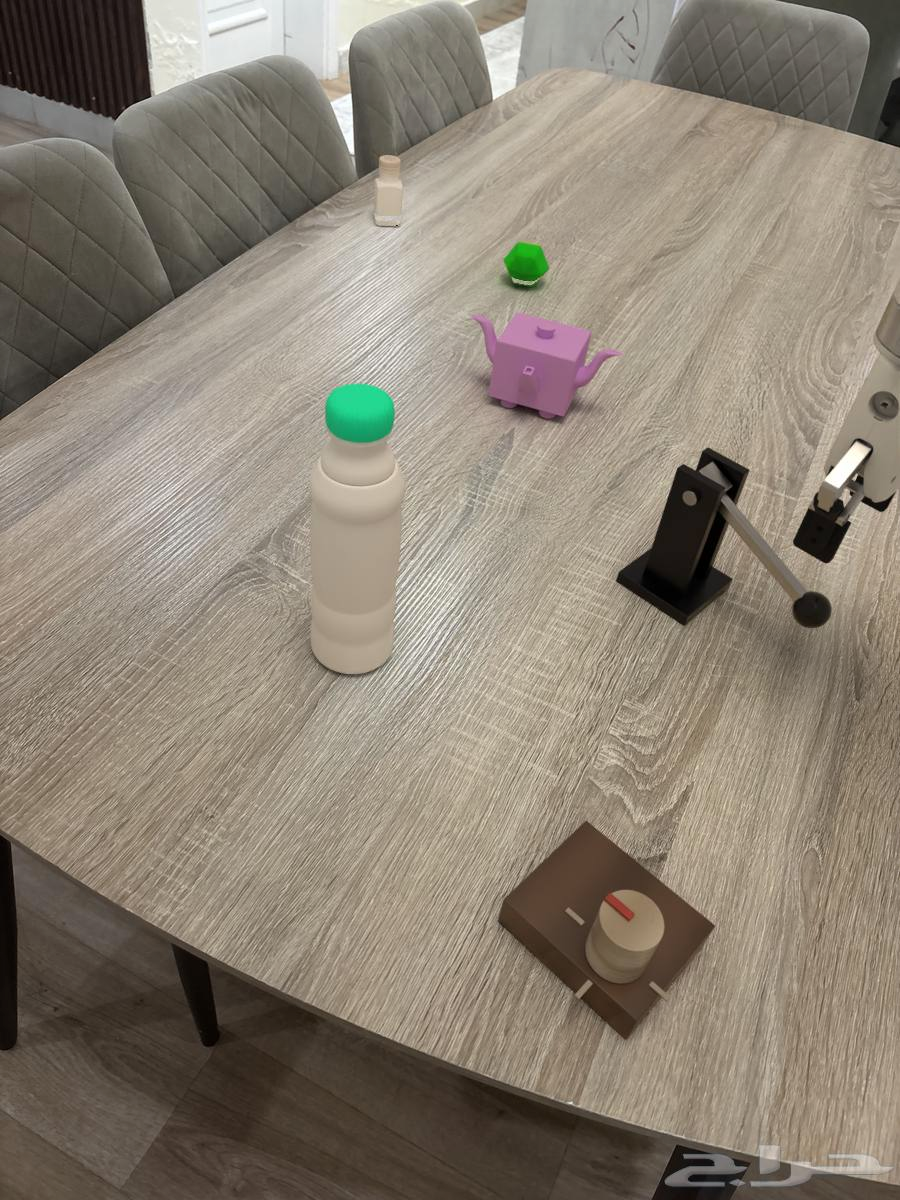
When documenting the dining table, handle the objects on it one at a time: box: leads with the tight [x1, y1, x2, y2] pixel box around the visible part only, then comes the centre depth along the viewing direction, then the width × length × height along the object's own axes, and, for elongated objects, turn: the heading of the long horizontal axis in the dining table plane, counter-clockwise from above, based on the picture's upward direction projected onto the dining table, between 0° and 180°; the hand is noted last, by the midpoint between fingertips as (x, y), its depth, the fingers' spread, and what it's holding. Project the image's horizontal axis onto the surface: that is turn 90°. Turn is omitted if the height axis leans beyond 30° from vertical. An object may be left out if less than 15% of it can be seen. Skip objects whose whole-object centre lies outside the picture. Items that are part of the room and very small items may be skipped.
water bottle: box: [308, 382, 406, 675], centre depth 72 cm, size 7×7×25 cm
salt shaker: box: [373, 154, 404, 227], centre depth 143 cm, size 4×4×10 cm
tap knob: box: [585, 890, 664, 984], centre depth 58 cm, size 4×4×5 cm
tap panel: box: [497, 820, 716, 1041], centre depth 63 cm, size 12×11×3 cm
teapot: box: [470, 311, 623, 420], centre depth 109 cm, size 18×13×10 cm
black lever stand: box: [615, 446, 751, 626], centre depth 86 cm, size 8×8×14 cm
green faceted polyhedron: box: [503, 241, 550, 287], centre depth 134 cm, size 7×6×9 cm
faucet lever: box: [698, 462, 833, 629], centre depth 82 cm, size 17×3×3 cm, turn 45°
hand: (840, 527), depth 75 cm, fingers open, 9 cm apart
